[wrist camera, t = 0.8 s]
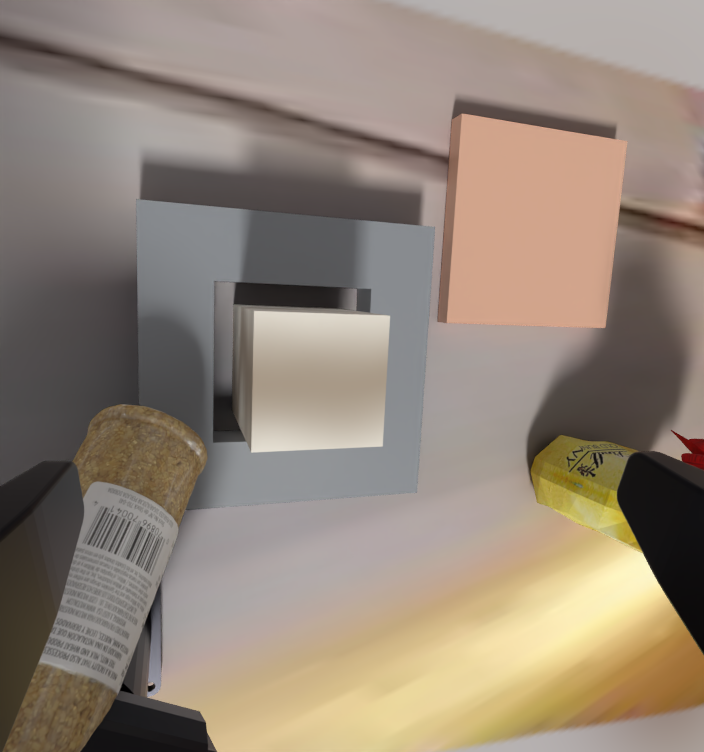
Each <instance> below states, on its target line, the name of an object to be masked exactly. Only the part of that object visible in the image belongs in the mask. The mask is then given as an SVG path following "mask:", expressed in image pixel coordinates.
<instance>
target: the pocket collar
mask: <svg viewBox="0 0 704 752" xmlns="http://www.w3.org/2000/svg"><path fill="white" fill-rule="evenodd" d="M136 224H137V301H138V379H139V406H146V407H149V408H152V409H155V410H158V411H162V412H164V413H166V414H168V415H170V416H172V417H174V418H176V419H178V420H180V421H182V422H184V423H185V424H186V425H188V426H189V427H190V428H191V429H192V430H193V431H195V432H196V433H197V434H198V435H199V436H200V437H201V439H202V441H203V443H204V445H205V447H206V449H207V457H208V458H207V461H206V465H205V467H204V469H203V471H202V472H201V473H200V474H199V475H198V477H197V480H196V482H195V485H194V489H193V491H192V494H191V496H190V498H189V500H188V504H187V506H186V509H185V510H194V509H207V508H220V507H233V506H246V505H259V504H273V503H286V502H299V501H312V500H325V499H338V498H351V497H364V496H378V495H391V494H404V493H417V485H418V470H419V456H420V441H421V426H422V412H423V397H424V382H425V368H426V353H427V338H428V324H429V309H430V294H431V280H432V265H433V250H434V236H435V227H430V226H419V225H408V224H398V223H387V222H376V221H365V220H355V219H344V218H333V217H322V216H312V215H301V214H290V213H279V212H269V211H258V210H247V209H236V208H226V207H215V206H204V205H194V204H183V203H172V202H161V201H151V200H140V199H136ZM214 281H219V282H238V283H258V284H278V285H297V286H317V287H336V288H356V289H358V291H357V311H361V312H368V313H375V314H382V315H389V316H390V328H389V345H388V363H387V380H386V397H385V415H384V432H383V447H361V448H339V449H318V450H296V451H274V452H253V453H251V451H250V449H249V446H248V444H247V442H246V440H245V438H244V435H243V433H242V431H241V430H235V431H213V374H214Z"/></svg>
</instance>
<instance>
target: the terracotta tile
mask: <svg viewBox="0 0 704 752" xmlns="http://www.w3.org/2000/svg"><path fill="white" fill-rule="evenodd" d="M626 149H627V141H622V140H616V139H611V138H605V137H599V136H593V135H587V134H581V133H575V132H569V131H563V130H557V129H551V128H545V127H539V126H534V125H528V124H522V123H516V122H510V121H504V120H498V119H492V118H486V117H480V116H474V115H468V114H460V115H459V116H457V117H455V118H454V119H452V125H451V140H450V154H449V168H448V182H447V196H446V210H445V224H444V239H443V253H442V267H441V281H440V295H439V309H438V322H443V323H463V324H495V325H526V326H558V327H589V328H605V327H606V319H607V310H608V302H609V293H610V285H611V276H612V268H613V259H614V251H615V242H616V234H617V225H618V217H619V208H620V200H621V191H622V183H623V174H624V166H625V157H626Z"/></svg>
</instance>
